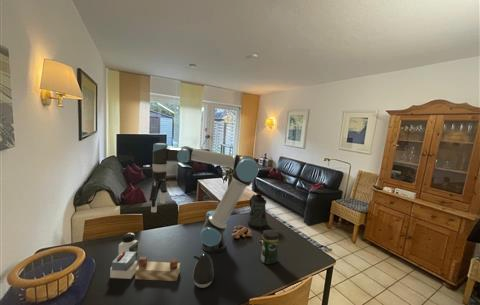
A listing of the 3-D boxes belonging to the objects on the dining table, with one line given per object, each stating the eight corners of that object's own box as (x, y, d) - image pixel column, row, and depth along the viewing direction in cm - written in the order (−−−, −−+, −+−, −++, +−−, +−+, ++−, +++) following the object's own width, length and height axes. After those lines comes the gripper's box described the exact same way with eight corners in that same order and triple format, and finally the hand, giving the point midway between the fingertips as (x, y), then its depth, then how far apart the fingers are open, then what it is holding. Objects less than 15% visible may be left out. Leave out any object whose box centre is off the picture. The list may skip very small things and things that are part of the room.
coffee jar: (272, 255, 128) (275, 227, 126) (278, 263, 121) (281, 233, 119) (258, 257, 126) (261, 228, 124) (263, 265, 118) (266, 234, 116)
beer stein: (261, 231, 158) (264, 200, 155) (240, 224, 168) (242, 194, 165) (270, 224, 172) (273, 195, 169) (250, 217, 182) (252, 190, 179)
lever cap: (135, 259, 108) (135, 249, 107) (126, 270, 99) (126, 260, 98) (122, 258, 108) (122, 249, 107) (111, 270, 99) (111, 260, 98)
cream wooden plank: (179, 272, 108) (180, 255, 107) (176, 280, 101) (177, 263, 100) (141, 270, 107) (141, 253, 106) (135, 279, 101) (135, 261, 100)
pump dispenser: (193, 276, 106) (194, 248, 104) (213, 276, 107) (215, 248, 105) (190, 291, 96) (191, 260, 94) (212, 291, 97) (214, 261, 95)
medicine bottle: (129, 259, 115) (129, 238, 114) (118, 256, 117) (118, 236, 115) (137, 251, 122) (138, 232, 121) (127, 249, 124) (127, 230, 122)
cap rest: (137, 269, 107) (137, 260, 106) (131, 278, 101) (131, 269, 100) (117, 268, 107) (117, 259, 106) (110, 277, 100) (110, 268, 100)
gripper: (160, 166, 128) (159, 199, 130) (143, 175, 103) (142, 216, 105) (172, 167, 128) (171, 200, 130) (158, 176, 103) (156, 216, 106)
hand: (158, 207), depth 118 cm, fingers open, 13 cm apart
